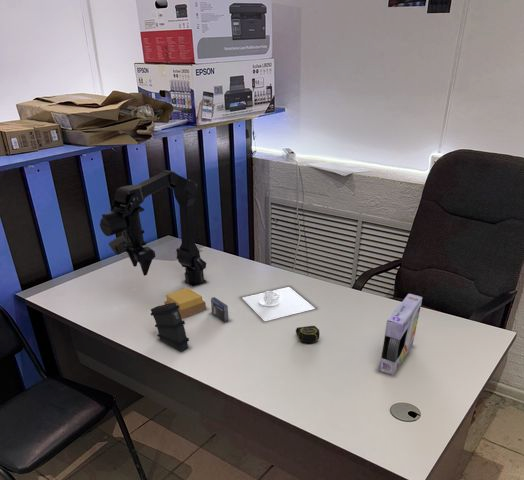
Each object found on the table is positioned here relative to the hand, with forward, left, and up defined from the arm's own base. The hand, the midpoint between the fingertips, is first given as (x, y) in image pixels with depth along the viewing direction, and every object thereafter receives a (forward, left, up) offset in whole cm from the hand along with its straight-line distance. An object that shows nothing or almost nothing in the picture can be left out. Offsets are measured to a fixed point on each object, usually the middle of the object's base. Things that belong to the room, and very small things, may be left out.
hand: (140, 270), depth 172 cm
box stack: (-10, +12, -14) cm, 20 cm away
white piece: (-38, +30, -14) cm, 50 cm away
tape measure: (-29, +55, -14) cm, 63 cm away
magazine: (+6, +28, -14) cm, 32 cm away
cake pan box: (-41, +81, -14) cm, 91 cm away
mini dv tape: (-16, +25, -14) cm, 32 cm away
